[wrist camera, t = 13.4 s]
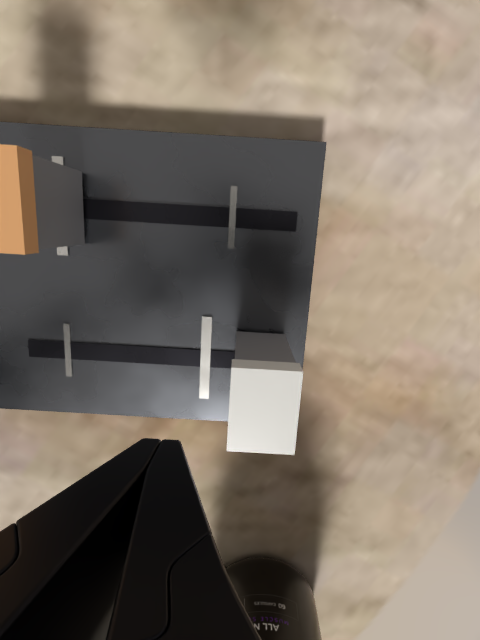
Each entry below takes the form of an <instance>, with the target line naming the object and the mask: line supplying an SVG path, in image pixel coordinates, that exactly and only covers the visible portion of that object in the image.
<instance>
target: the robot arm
mask: <svg viewBox="0 0 480 640" xmlns="http://www.w3.org/2000/svg"><path fill="white" fill-rule="evenodd" d="M0 640H261V638H260V636H259V634H258V633H257V631H256V629H255V627H254V625H253V623H252V621H251V619H250V618H249V616H248V614H247V612H246V610H245V608H244V606H243V604H242V603H241V601H240V599H239V597H238V595H237V593H236V591H235V589H234V587H233V585H232V582H231V580H230V578H229V576H228V574H227V572H226V570H225V567H224V565H223V562H222V559H221V557H220V554H219V552H218V549H217V546H216V543H215V540H214V537H213V536H212V532H211V529H210V526H209V523H208V521H207V518H206V515H205V512H204V509H203V506H202V503H201V500H200V497H199V494H198V491H197V488H196V485H195V482H194V480H193V477H192V474H191V471H190V468H189V465H188V462H187V459H186V456H185V453H184V450H183V447H182V444H181V442H180V441H179V440H166V439H165V440H162V441H161V440H159V439H149V438H144V439H141V440H140V441H138V442H137V443H135V444H134V445H132V446H131V447H129V448H128V449H126V450H124V451H123V452H121V453H120V454H118V455H117V456H115V457H114V458H112V459H111V460H109V461H108V462H106V463H105V464H103V465H102V466H100V467H98V468H97V469H95V470H94V471H92V472H91V473H89V474H88V475H86V476H85V477H83V478H82V479H80V480H79V481H77V482H76V483H74V484H72V485H71V486H69V487H68V488H66V489H65V490H63V491H62V492H60V493H59V494H57V495H56V496H54V497H53V498H51V499H50V500H48V501H46V502H45V503H43V504H42V505H40V506H39V507H37V508H36V509H34V510H33V511H31V512H30V513H28V514H27V515H25V516H23V517H22V518H20V519H19V520H17V522H16V524H15V523H13V524H11V525H9V526H8V527H6V528H5V529H3V530H2V531H0Z"/></svg>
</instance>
